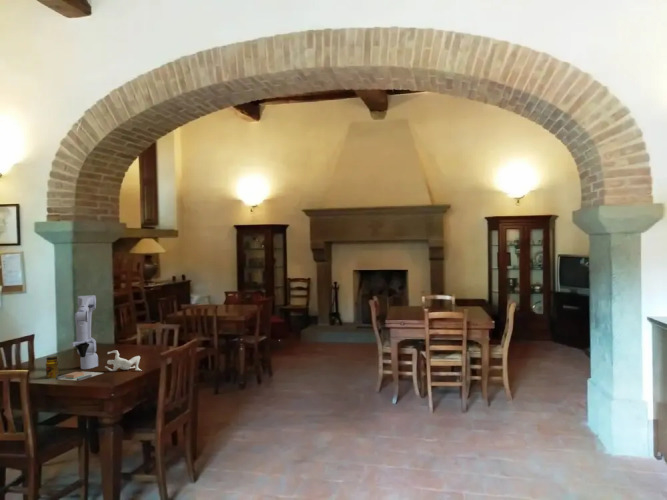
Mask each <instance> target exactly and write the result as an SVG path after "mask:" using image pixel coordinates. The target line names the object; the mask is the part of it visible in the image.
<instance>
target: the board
mask: <svg viewBox="0 0 667 500" xmlns="http://www.w3.org/2000/svg"><path fill="white" fill-rule="evenodd" d="M83 372H84V376H82V377H78V378H75V379H69V378H65V375H66V374H67V373H65V374H62V375H59V376H58V377H56V378H55V379H56V380H62V381H63V380H66V381H75V382H76V381H77V382H78V381H82V380H85V379H89V378H92V377H96V376H99V375H102V374H103V372H97V371H95V372H94V371H83Z"/></svg>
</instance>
